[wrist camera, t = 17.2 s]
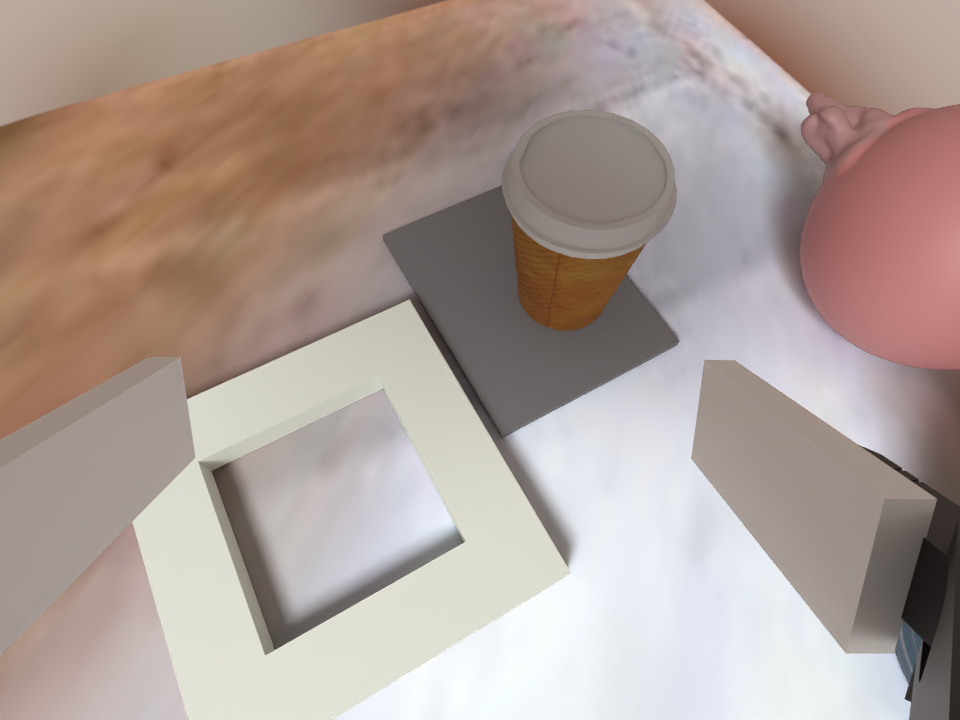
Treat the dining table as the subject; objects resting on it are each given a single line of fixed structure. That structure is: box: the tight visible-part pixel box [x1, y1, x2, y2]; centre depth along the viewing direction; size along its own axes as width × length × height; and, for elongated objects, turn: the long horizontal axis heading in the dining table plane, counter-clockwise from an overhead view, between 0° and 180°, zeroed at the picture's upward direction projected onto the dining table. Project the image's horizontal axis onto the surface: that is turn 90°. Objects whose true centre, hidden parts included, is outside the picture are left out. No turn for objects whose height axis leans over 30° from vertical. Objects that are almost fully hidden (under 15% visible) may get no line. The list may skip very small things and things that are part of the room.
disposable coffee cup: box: [502, 110, 677, 331], centre depth 36 cm, size 10×10×12 cm
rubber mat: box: [383, 186, 679, 438], centre depth 42 cm, size 18×14×1 cm
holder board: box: [133, 300, 571, 720], centre depth 34 cm, size 20×20×2 cm
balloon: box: [800, 92, 960, 370], centre depth 36 cm, size 15×20×15 cm
